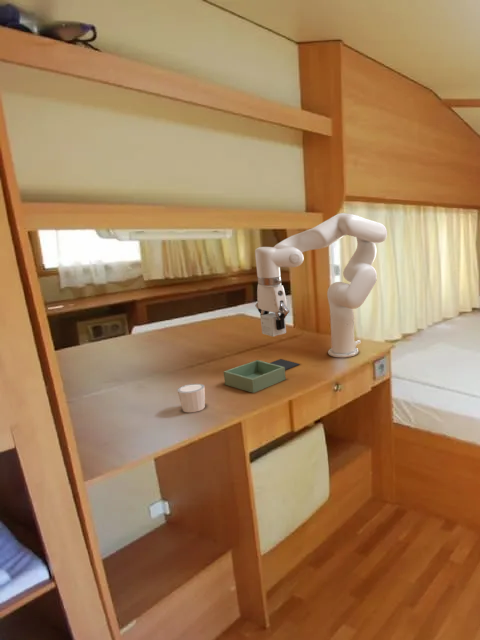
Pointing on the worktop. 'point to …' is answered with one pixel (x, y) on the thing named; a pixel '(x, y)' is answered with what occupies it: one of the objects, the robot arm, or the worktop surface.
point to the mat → (285, 363)
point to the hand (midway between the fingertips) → (273, 327)
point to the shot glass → (192, 397)
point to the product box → (271, 325)
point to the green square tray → (254, 376)
